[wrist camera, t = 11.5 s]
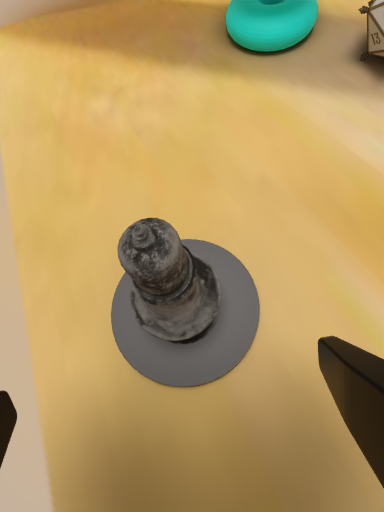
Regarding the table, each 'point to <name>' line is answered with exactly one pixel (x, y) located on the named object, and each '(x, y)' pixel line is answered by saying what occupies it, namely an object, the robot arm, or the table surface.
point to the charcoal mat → (202, 351)
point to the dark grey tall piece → (169, 283)
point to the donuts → (270, 22)
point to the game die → (374, 28)
